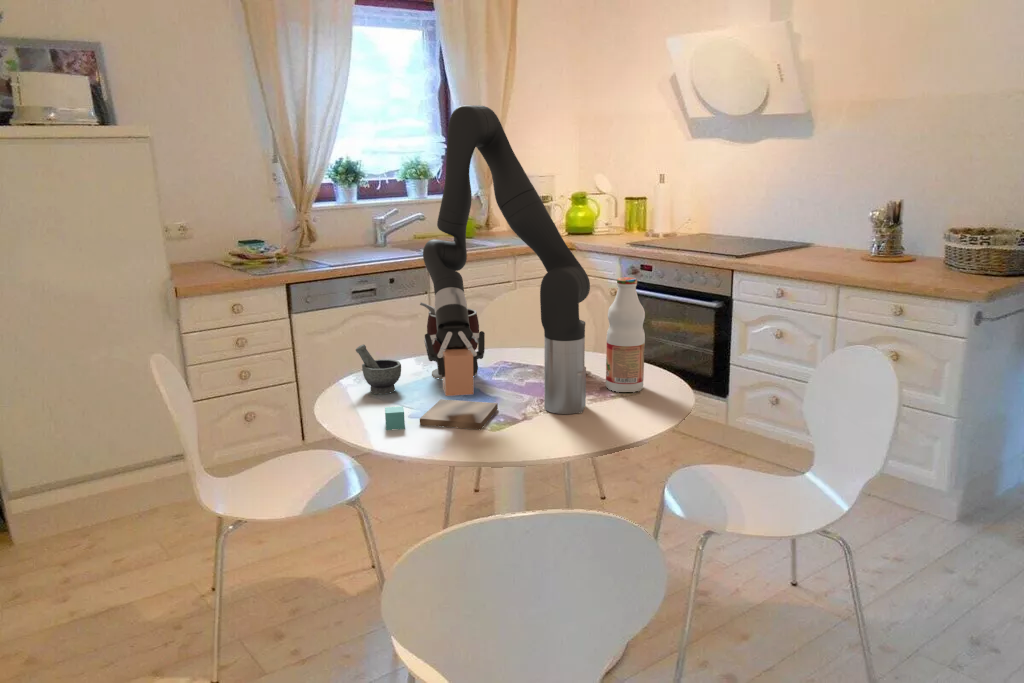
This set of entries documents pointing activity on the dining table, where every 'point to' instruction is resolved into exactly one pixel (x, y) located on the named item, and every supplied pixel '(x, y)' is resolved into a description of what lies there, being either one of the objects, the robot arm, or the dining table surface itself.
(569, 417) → the dining table surface
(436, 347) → the mate gourd
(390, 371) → the mortar and pestle
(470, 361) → the tall tan upright block
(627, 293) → the fruit juice
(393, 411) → the teal block
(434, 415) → the walnut board
